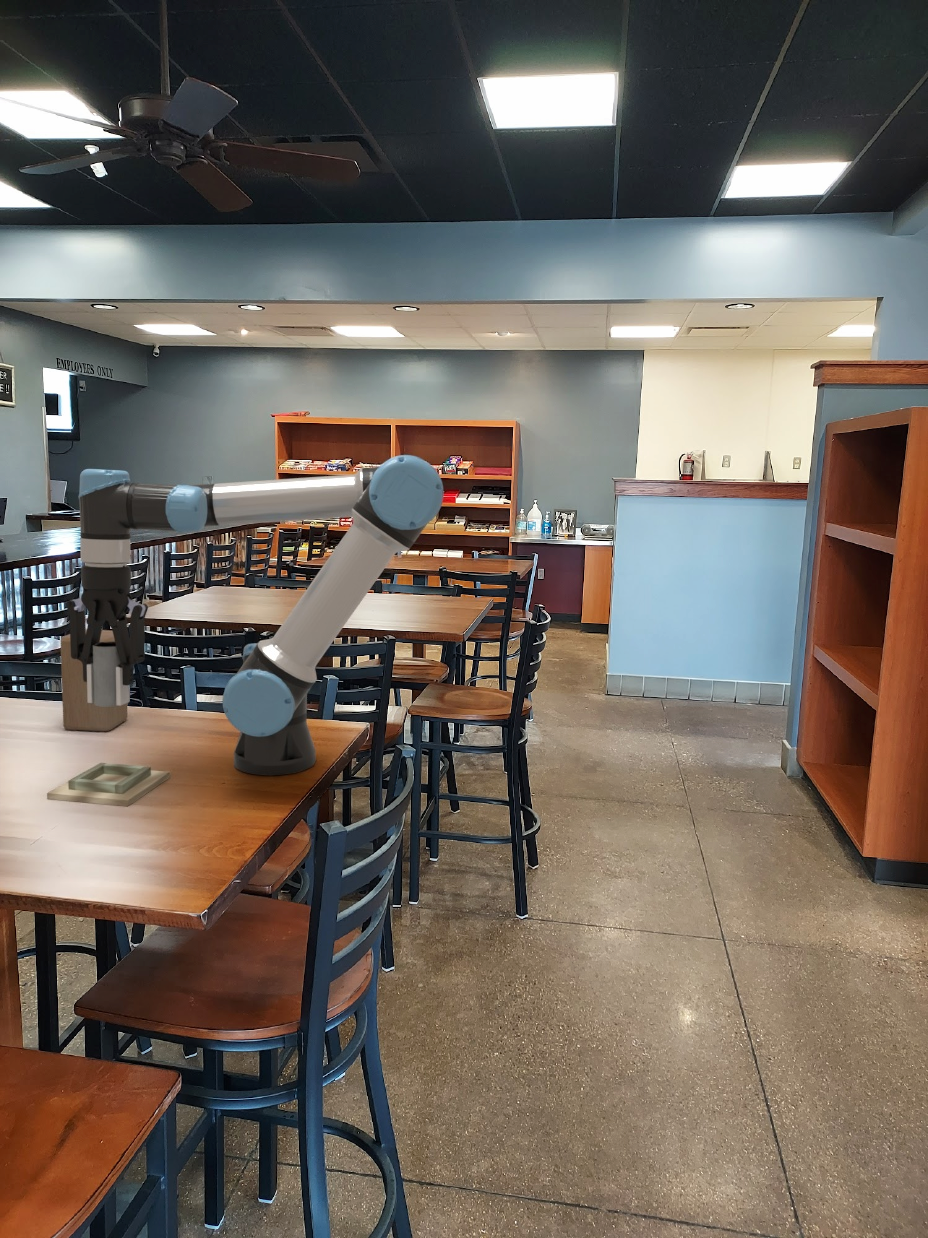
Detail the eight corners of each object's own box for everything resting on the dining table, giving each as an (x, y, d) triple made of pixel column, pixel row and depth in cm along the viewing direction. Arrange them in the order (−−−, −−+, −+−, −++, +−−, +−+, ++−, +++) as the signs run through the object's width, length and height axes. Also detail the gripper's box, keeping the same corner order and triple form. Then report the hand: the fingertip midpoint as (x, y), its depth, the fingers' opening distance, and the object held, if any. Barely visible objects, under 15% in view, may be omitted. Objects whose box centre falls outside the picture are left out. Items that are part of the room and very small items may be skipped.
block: (109, 733, 169) (106, 638, 166) (61, 730, 169) (58, 636, 166) (129, 720, 179) (127, 630, 176) (84, 718, 179) (81, 628, 176)
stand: (169, 777, 144) (169, 763, 144) (127, 806, 131) (127, 791, 130) (96, 770, 146) (96, 757, 146) (47, 799, 132) (46, 784, 132)
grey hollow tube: (129, 703, 138) (128, 643, 137) (107, 708, 134) (105, 647, 133) (110, 699, 140) (109, 640, 139) (88, 704, 136) (86, 644, 134)
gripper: (167, 565, 136) (168, 701, 139) (71, 559, 139) (75, 692, 142) (143, 569, 129) (145, 712, 132) (42, 562, 131) (46, 703, 135)
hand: (108, 701), depth 137 cm, fingers closed on grey hollow tube, 4 cm apart
